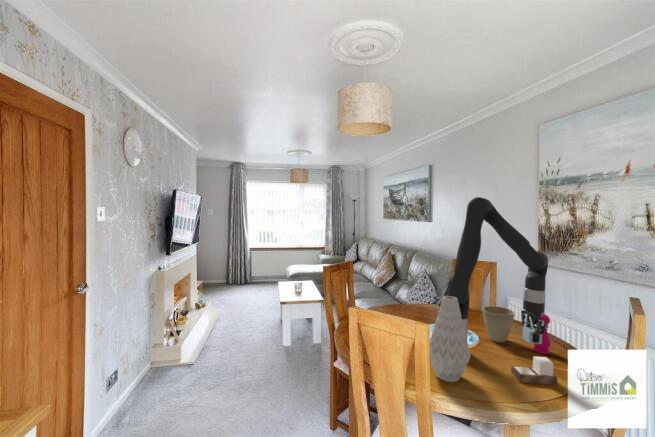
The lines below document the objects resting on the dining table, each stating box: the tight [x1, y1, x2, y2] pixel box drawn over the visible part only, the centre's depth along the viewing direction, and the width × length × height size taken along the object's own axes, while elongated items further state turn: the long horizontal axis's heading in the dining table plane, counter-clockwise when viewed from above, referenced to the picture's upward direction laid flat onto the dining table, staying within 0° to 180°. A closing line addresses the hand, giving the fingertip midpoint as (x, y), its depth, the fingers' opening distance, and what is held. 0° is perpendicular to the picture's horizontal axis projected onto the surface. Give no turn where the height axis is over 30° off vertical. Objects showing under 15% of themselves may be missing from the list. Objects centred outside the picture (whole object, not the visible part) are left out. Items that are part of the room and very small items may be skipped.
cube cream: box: [532, 356, 554, 376], centre depth 126 cm, size 5×5×5 cm
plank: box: [510, 365, 558, 385], centre depth 126 cm, size 14×7×3 cm, turn 84°
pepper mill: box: [533, 312, 552, 355], centre depth 151 cm, size 7×7×20 cm
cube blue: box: [521, 326, 542, 345], centre depth 129 cm, size 5×5×5 cm
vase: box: [429, 295, 471, 383], centre depth 126 cm, size 17×17×33 cm
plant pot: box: [482, 305, 515, 343], centre depth 163 cm, size 15×15×16 cm
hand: (531, 339), depth 129 cm, fingers closed on cube blue, 5 cm apart
